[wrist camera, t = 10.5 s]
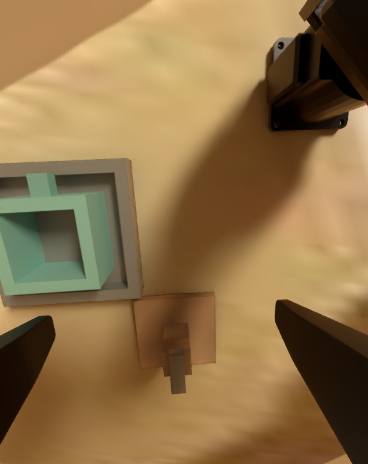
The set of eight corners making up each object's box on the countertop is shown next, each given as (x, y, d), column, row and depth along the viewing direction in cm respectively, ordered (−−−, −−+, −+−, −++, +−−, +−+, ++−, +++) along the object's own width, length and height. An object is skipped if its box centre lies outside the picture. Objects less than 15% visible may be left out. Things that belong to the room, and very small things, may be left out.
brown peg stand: (213, 291, 22) (226, 326, 17) (214, 357, 24) (225, 406, 19) (134, 296, 22) (122, 334, 16) (141, 362, 24) (133, 413, 18)
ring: (114, 267, 20) (100, 289, 16) (37, 272, 20) (4, 295, 16) (100, 171, 18) (81, 170, 14) (15, 176, 18) (-29, 175, 14)
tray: (130, 160, 18) (125, 158, 16) (143, 287, 21) (140, 298, 19) (-14, 166, 18) (-36, 165, 16) (19, 295, 21) (4, 307, 19)
